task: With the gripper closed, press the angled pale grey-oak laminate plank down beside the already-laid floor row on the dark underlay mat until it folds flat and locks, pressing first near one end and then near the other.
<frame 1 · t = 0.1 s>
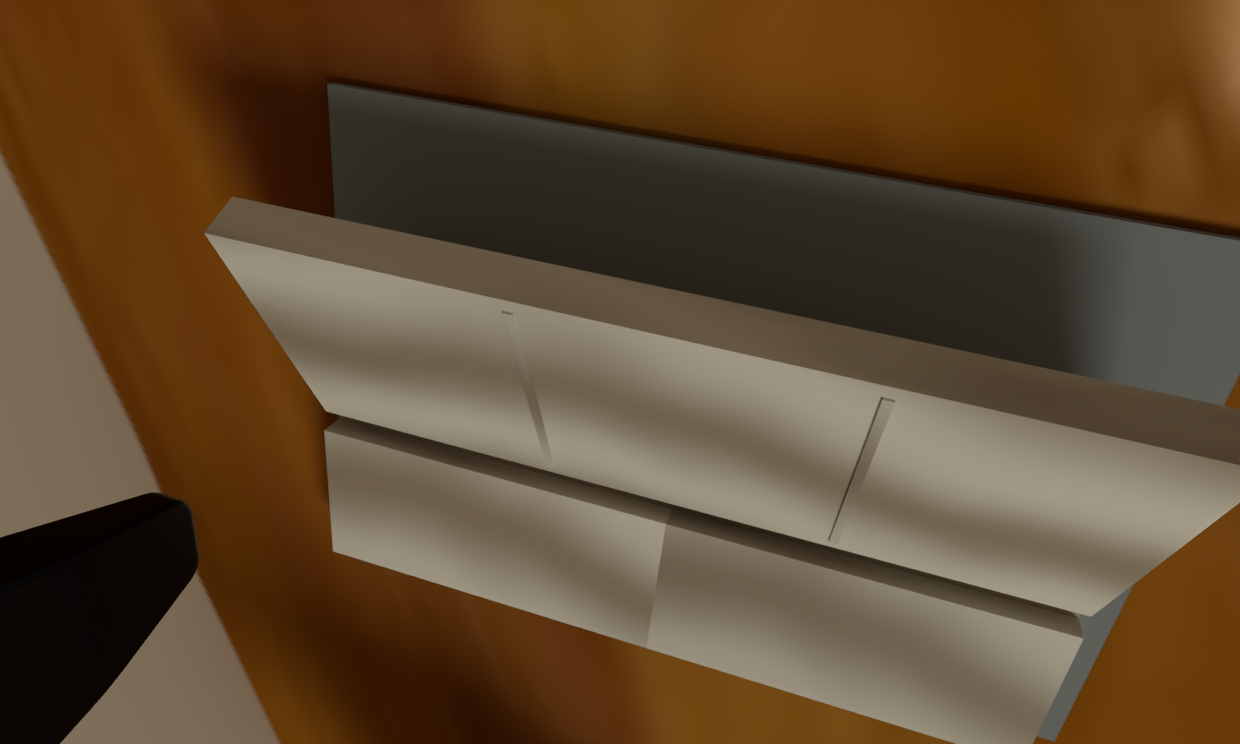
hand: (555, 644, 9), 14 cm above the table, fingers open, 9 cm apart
plank: (674, 414, 21), point 3 cm above the table, hinge at 30.0°, touching underlay mat
floor row: (656, 621, 27), resting on underlay mat
underlay mat: (708, 421, 24), on the table
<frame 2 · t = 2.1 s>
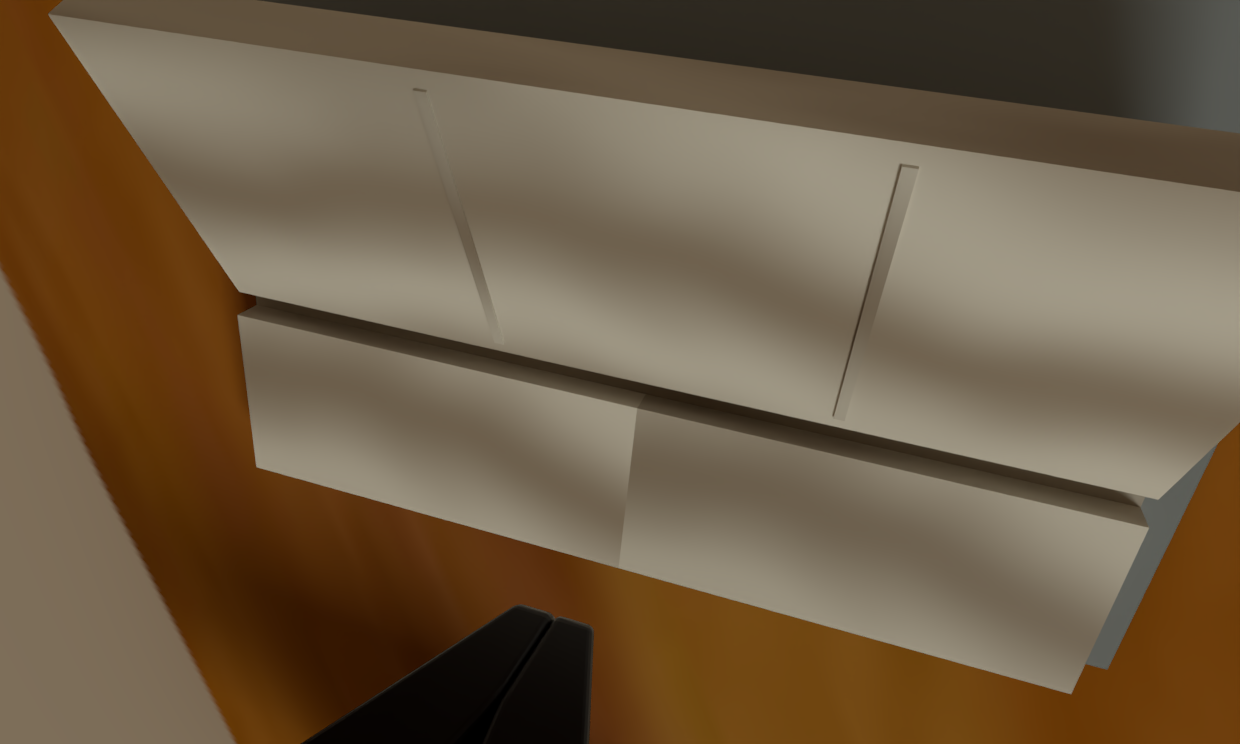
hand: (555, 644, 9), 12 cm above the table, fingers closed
plank: (640, 248, 17), point 3 cm above the table, hinge at 30.0°, touching underlay mat
floor row: (631, 540, 23), resting on underlay mat
underlay mat: (687, 284, 20), on the table
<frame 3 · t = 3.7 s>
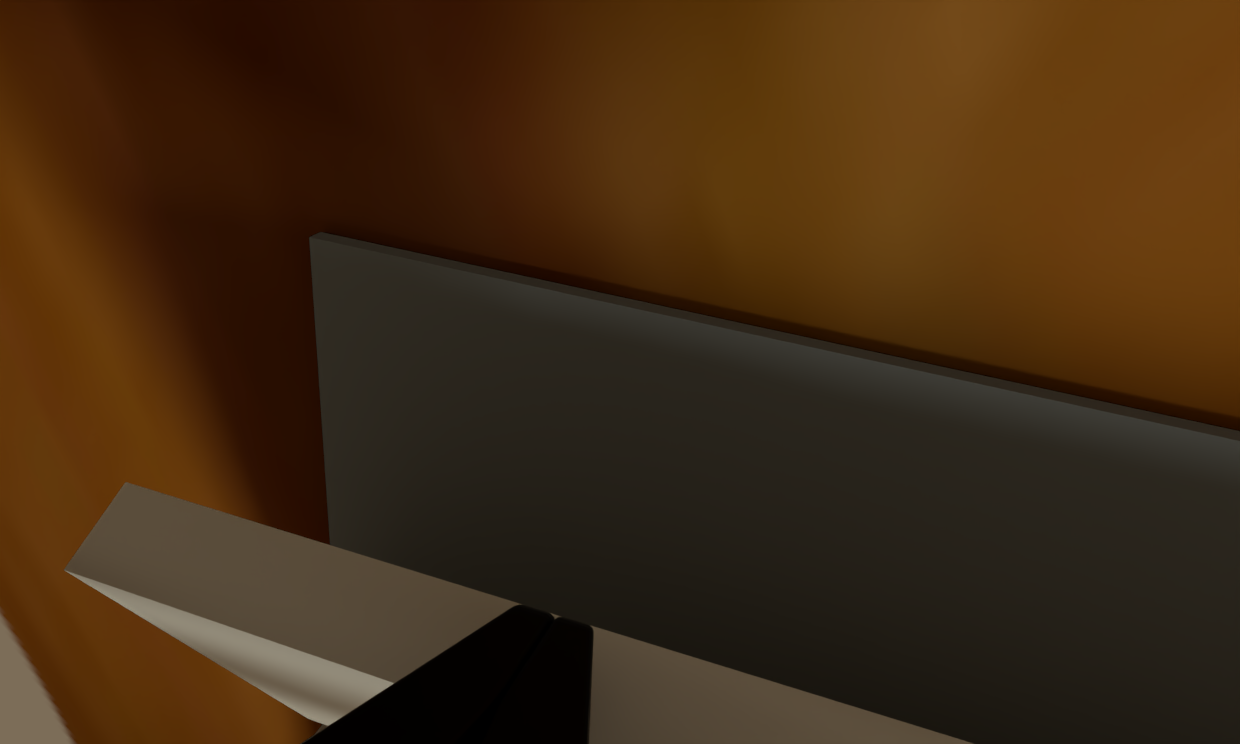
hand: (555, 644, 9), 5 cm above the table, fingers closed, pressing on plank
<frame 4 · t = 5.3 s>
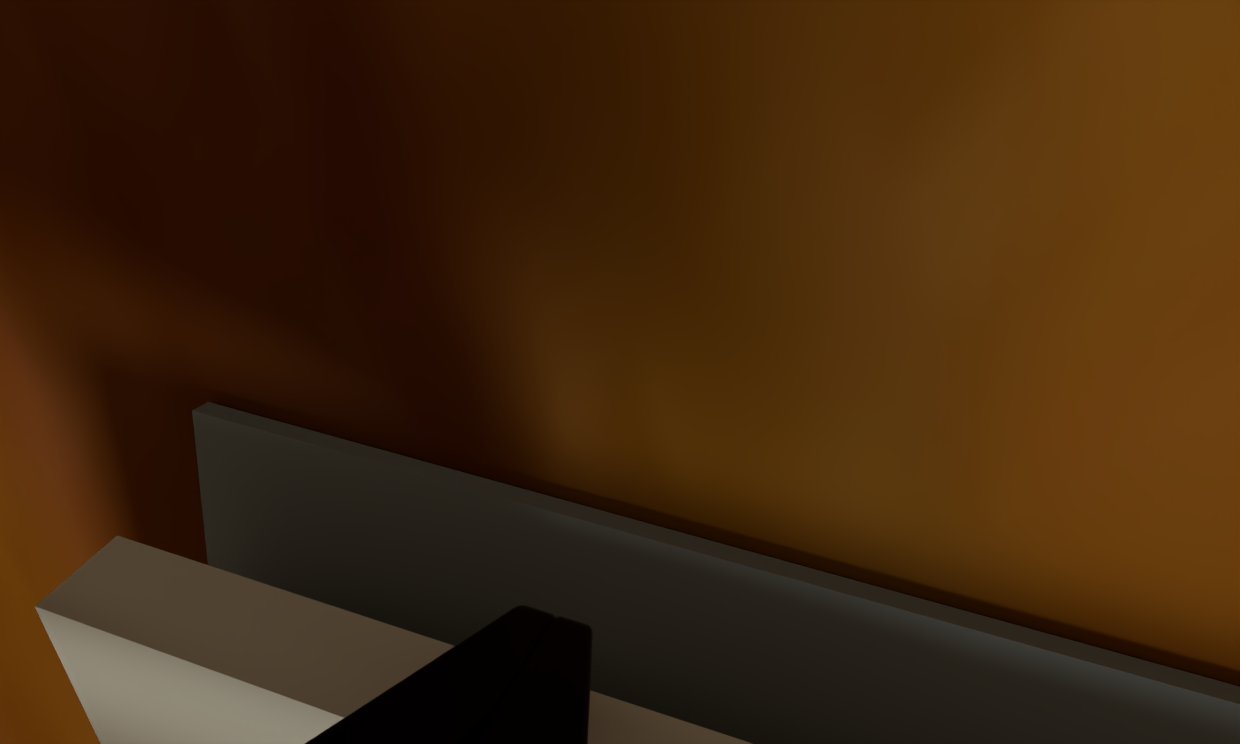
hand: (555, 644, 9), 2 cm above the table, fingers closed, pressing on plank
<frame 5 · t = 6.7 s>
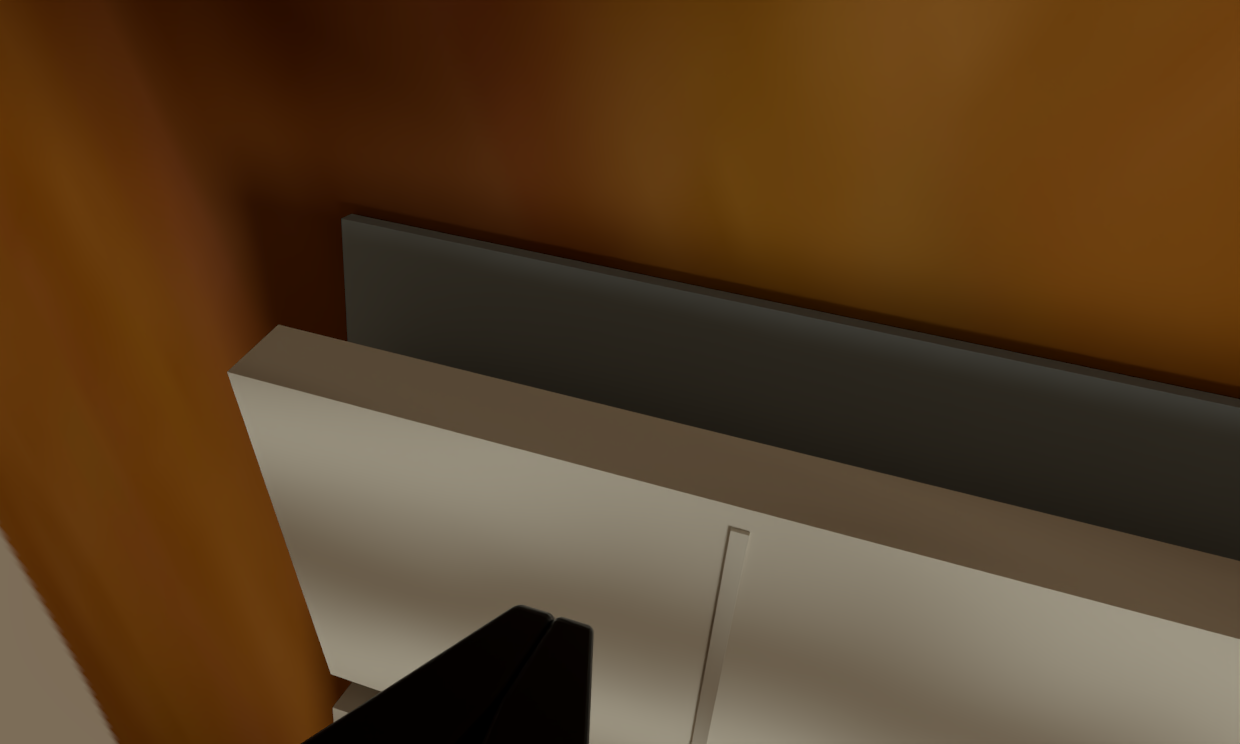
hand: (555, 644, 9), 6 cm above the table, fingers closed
plank: (948, 719, 13), point 2 cm above the table, hinge at 12.8°, touching underlay mat
underlay mat: (937, 738, 15), on the table
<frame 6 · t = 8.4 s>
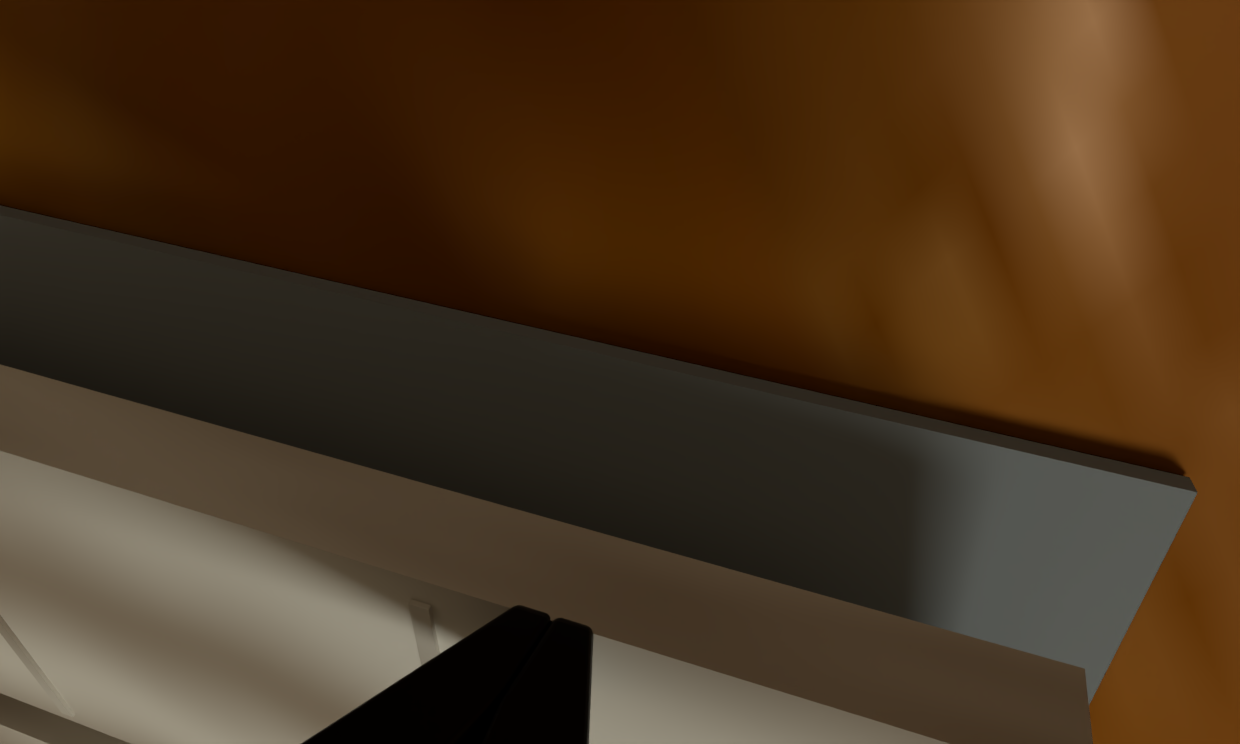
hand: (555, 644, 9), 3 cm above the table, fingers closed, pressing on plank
plank: (196, 628, 13), point 2 cm above the table, hinge at 12.9°, touching gripper, underlay mat
underlay mat: (310, 661, 15), on the table
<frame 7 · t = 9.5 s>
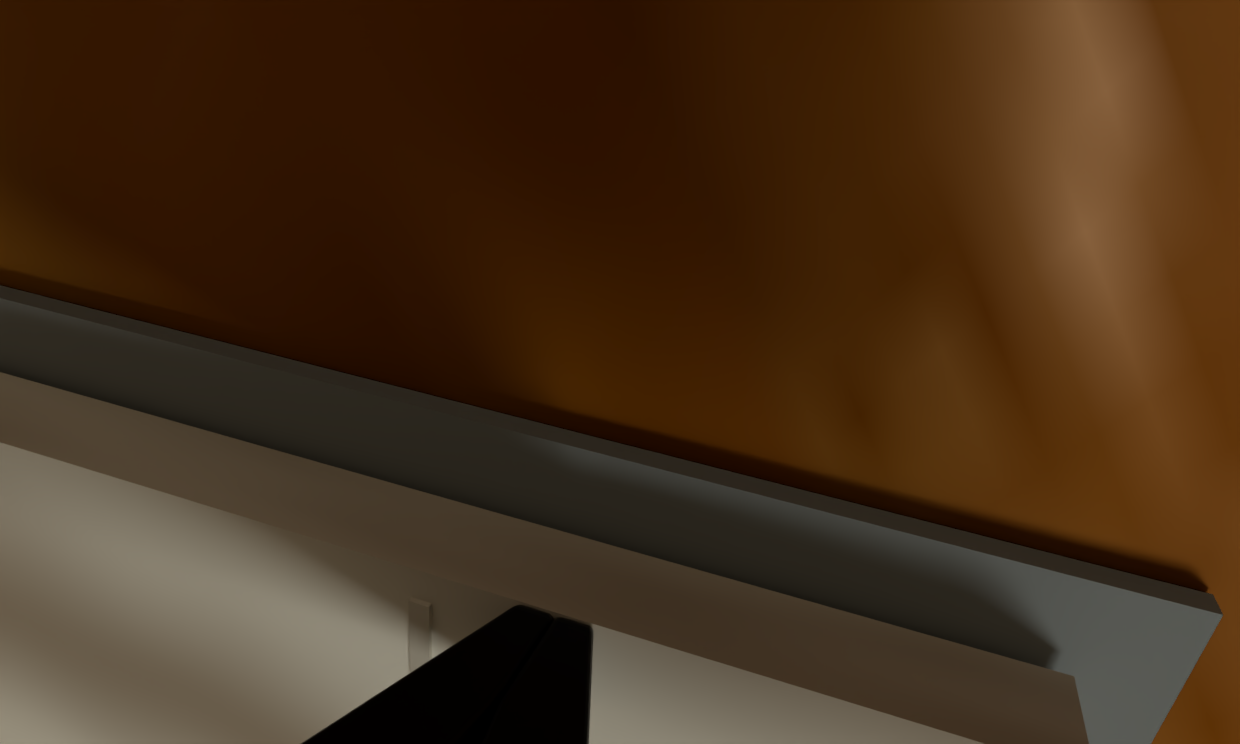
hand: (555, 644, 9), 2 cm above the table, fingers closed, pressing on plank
plank: (160, 674, 12), point 1 cm above the table, hinge at 1.4°, touching gripper
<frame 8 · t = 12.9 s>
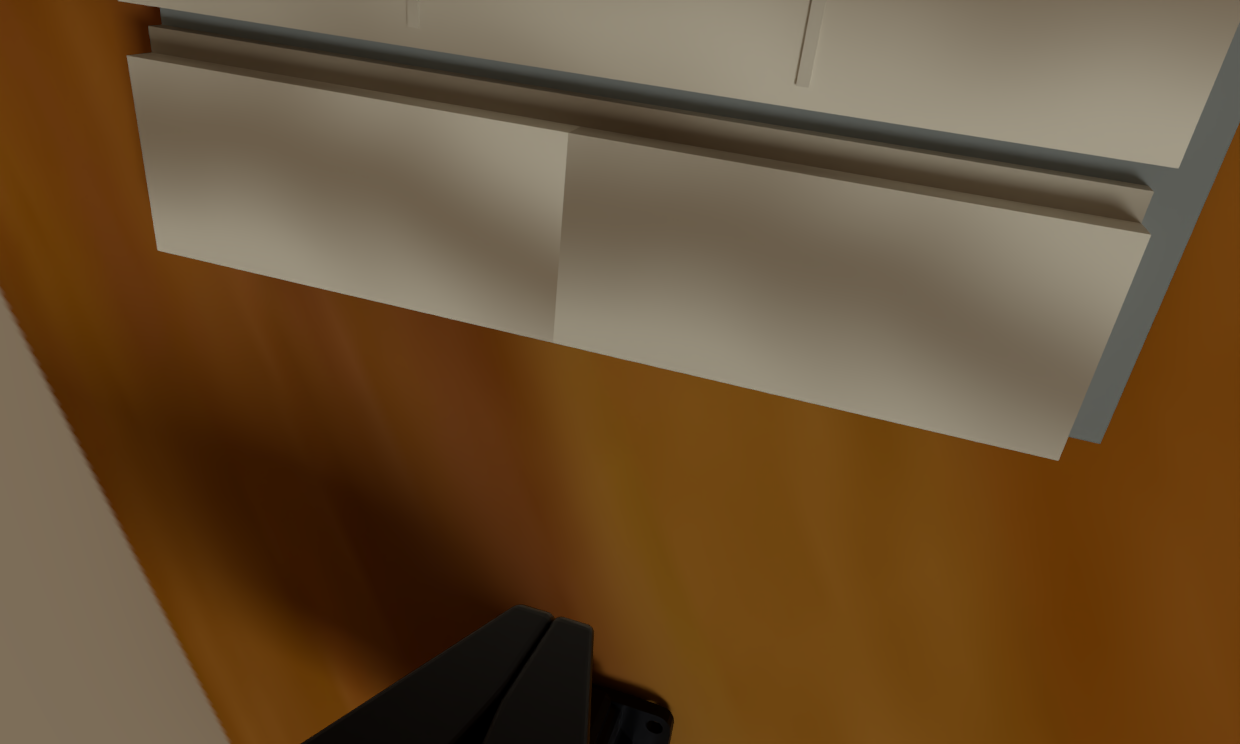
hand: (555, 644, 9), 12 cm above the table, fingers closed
floor row: (570, 323, 21), resting on underlay mat
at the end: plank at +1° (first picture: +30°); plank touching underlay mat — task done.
